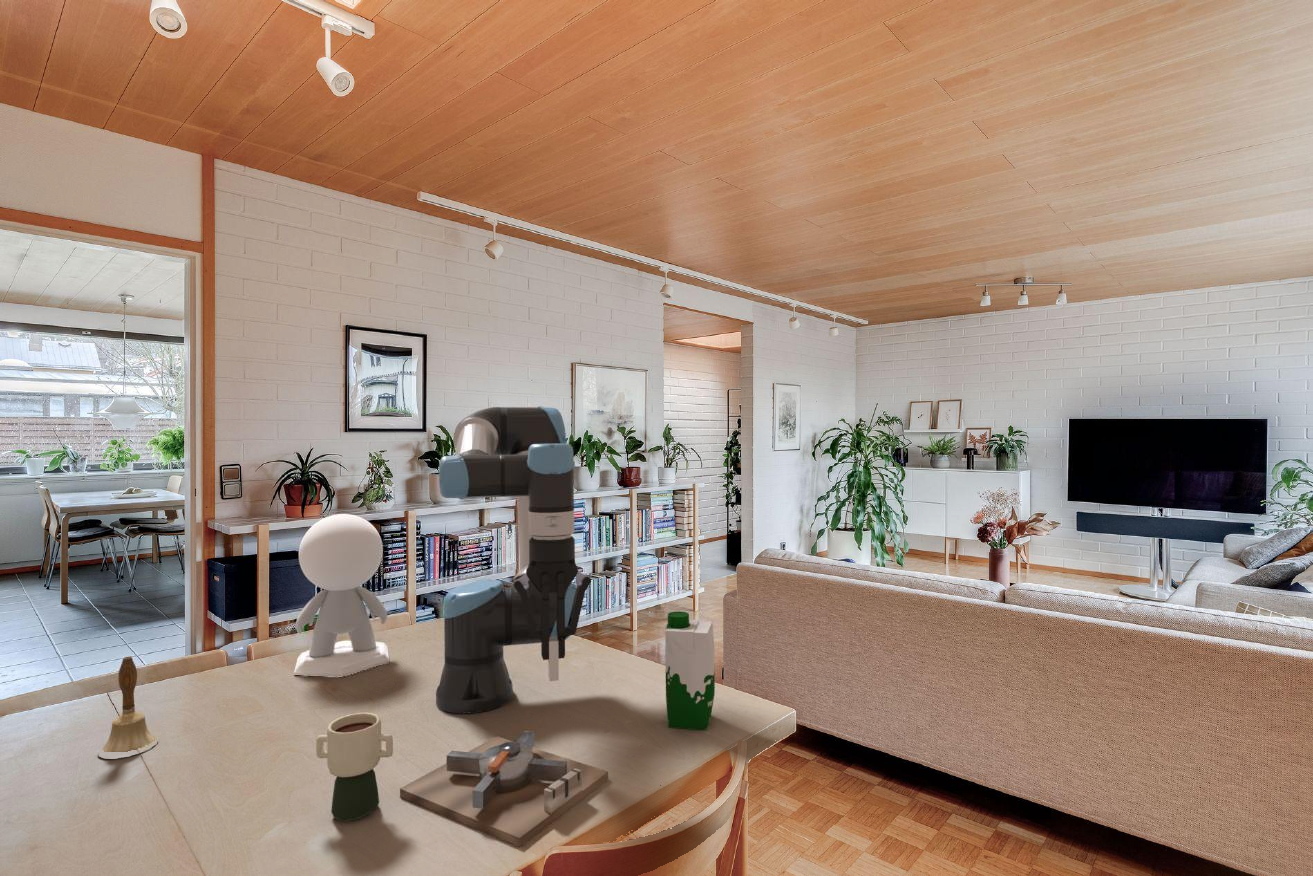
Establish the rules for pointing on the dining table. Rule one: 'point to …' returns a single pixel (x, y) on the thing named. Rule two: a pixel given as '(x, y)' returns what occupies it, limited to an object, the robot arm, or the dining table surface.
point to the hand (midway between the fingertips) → (553, 678)
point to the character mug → (354, 762)
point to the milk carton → (689, 671)
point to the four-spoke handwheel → (505, 768)
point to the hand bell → (128, 716)
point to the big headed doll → (341, 597)
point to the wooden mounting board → (505, 797)
